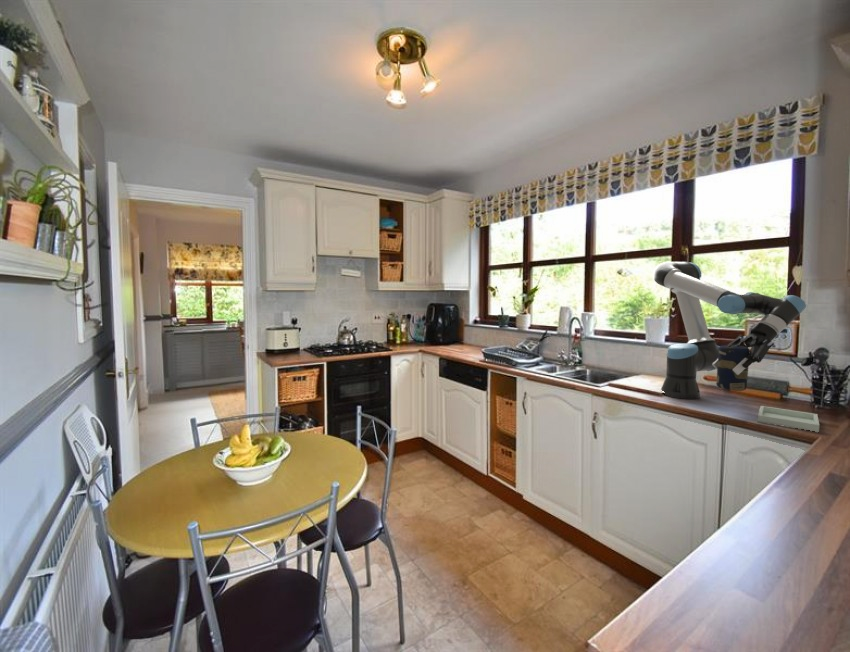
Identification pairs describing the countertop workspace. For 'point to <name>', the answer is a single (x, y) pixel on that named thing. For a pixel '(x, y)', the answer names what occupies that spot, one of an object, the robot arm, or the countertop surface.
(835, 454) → the countertop surface
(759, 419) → the tray
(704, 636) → the countertop surface
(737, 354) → the canister
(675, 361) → the robot arm
